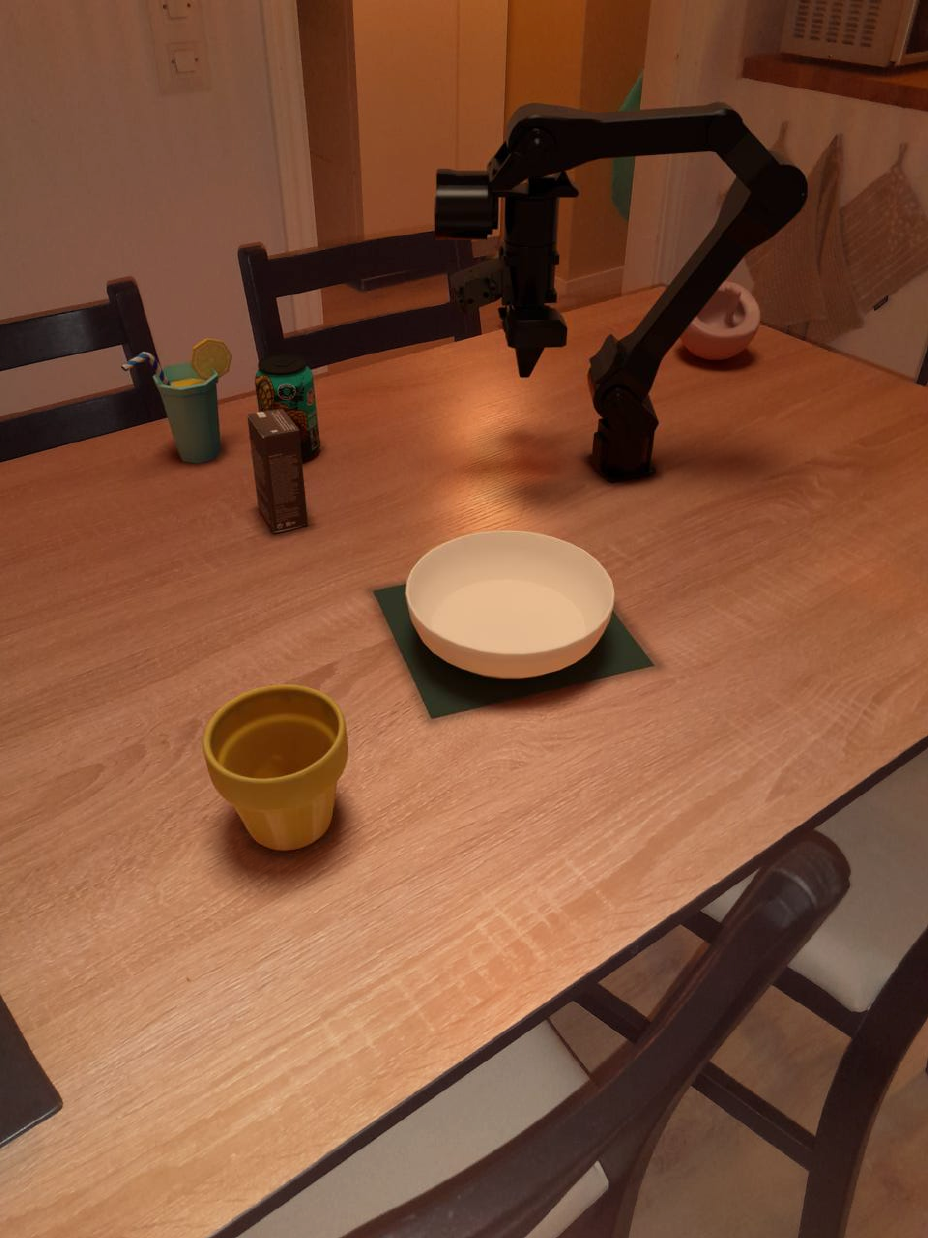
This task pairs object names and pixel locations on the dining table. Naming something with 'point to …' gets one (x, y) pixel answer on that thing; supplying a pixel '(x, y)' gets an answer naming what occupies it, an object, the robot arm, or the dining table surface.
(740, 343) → the mortar and pestle
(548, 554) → the bowl
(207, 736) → the flower pot
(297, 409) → the green cylinder
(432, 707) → the mat
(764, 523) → the dining table surface
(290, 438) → the box
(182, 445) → the cup
